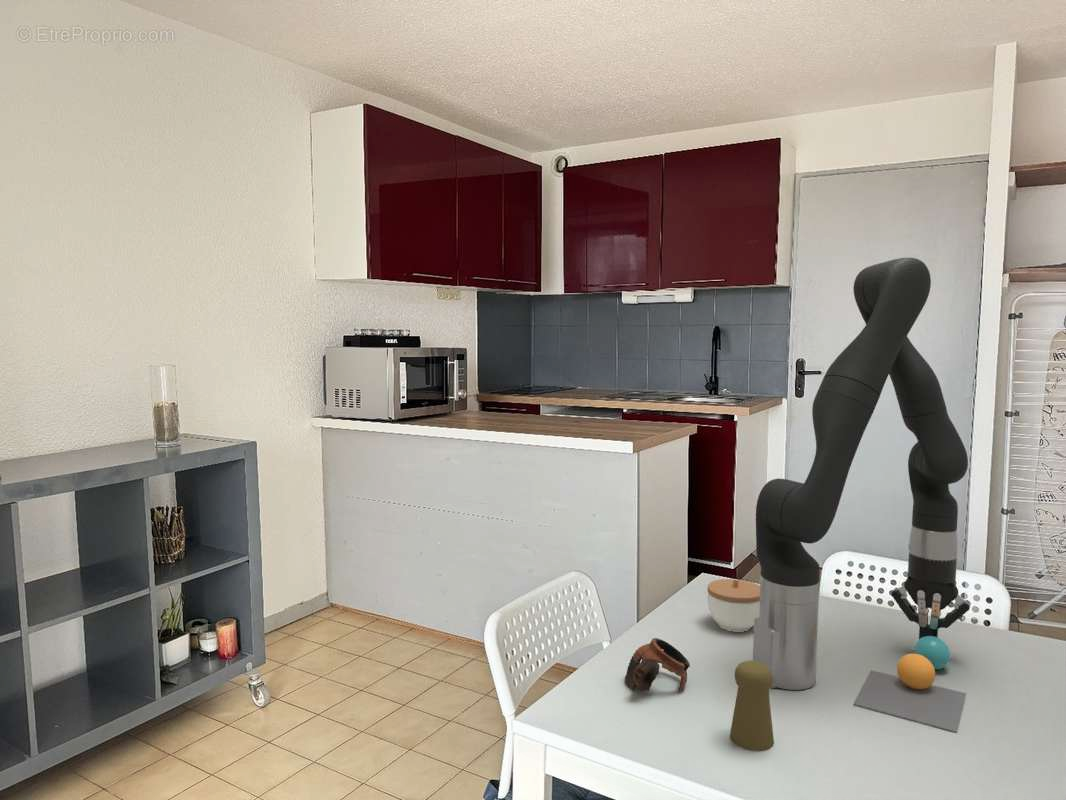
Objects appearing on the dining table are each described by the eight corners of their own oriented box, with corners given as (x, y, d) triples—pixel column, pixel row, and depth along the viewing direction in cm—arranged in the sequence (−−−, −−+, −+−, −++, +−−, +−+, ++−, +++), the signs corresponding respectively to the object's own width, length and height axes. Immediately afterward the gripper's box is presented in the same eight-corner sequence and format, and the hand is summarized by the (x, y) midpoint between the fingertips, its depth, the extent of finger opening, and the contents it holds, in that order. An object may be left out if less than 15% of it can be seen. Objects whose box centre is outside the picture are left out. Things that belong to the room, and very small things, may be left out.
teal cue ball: (934, 634, 131) (925, 664, 131) (912, 628, 129) (902, 658, 129) (961, 646, 126) (952, 677, 126) (939, 640, 124) (929, 672, 124)
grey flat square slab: (956, 733, 107) (956, 731, 107) (853, 704, 115) (853, 703, 115) (965, 694, 118) (965, 693, 118) (871, 671, 126) (871, 670, 126)
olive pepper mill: (765, 756, 101) (767, 679, 100) (722, 741, 105) (725, 666, 104) (780, 737, 106) (782, 663, 105) (739, 723, 109) (741, 651, 108)
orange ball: (917, 688, 123) (912, 701, 118) (892, 660, 125) (886, 671, 120) (944, 671, 120) (941, 683, 116) (918, 642, 122) (914, 653, 118)
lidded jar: (770, 637, 140) (771, 589, 139) (713, 637, 140) (714, 589, 140) (754, 615, 151) (755, 571, 150) (701, 615, 151) (702, 570, 150)
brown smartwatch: (630, 669, 128) (655, 630, 127) (675, 707, 124) (702, 666, 123) (606, 680, 117) (633, 637, 117) (655, 721, 113) (683, 677, 112)
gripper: (977, 553, 131) (972, 648, 132) (895, 541, 138) (891, 631, 140) (974, 564, 125) (968, 663, 126) (888, 550, 132) (883, 644, 134)
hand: (927, 646), depth 133 cm, fingers closed
